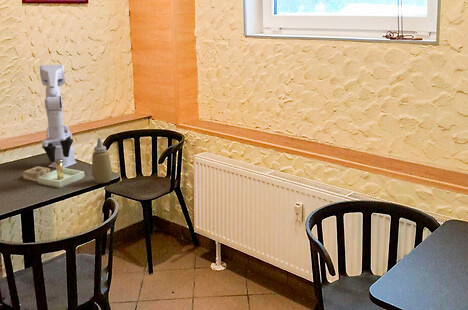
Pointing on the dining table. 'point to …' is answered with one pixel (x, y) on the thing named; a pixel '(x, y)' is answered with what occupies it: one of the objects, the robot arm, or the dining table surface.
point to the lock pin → (59, 169)
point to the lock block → (35, 173)
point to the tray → (69, 178)
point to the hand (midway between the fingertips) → (59, 159)
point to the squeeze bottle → (101, 164)
